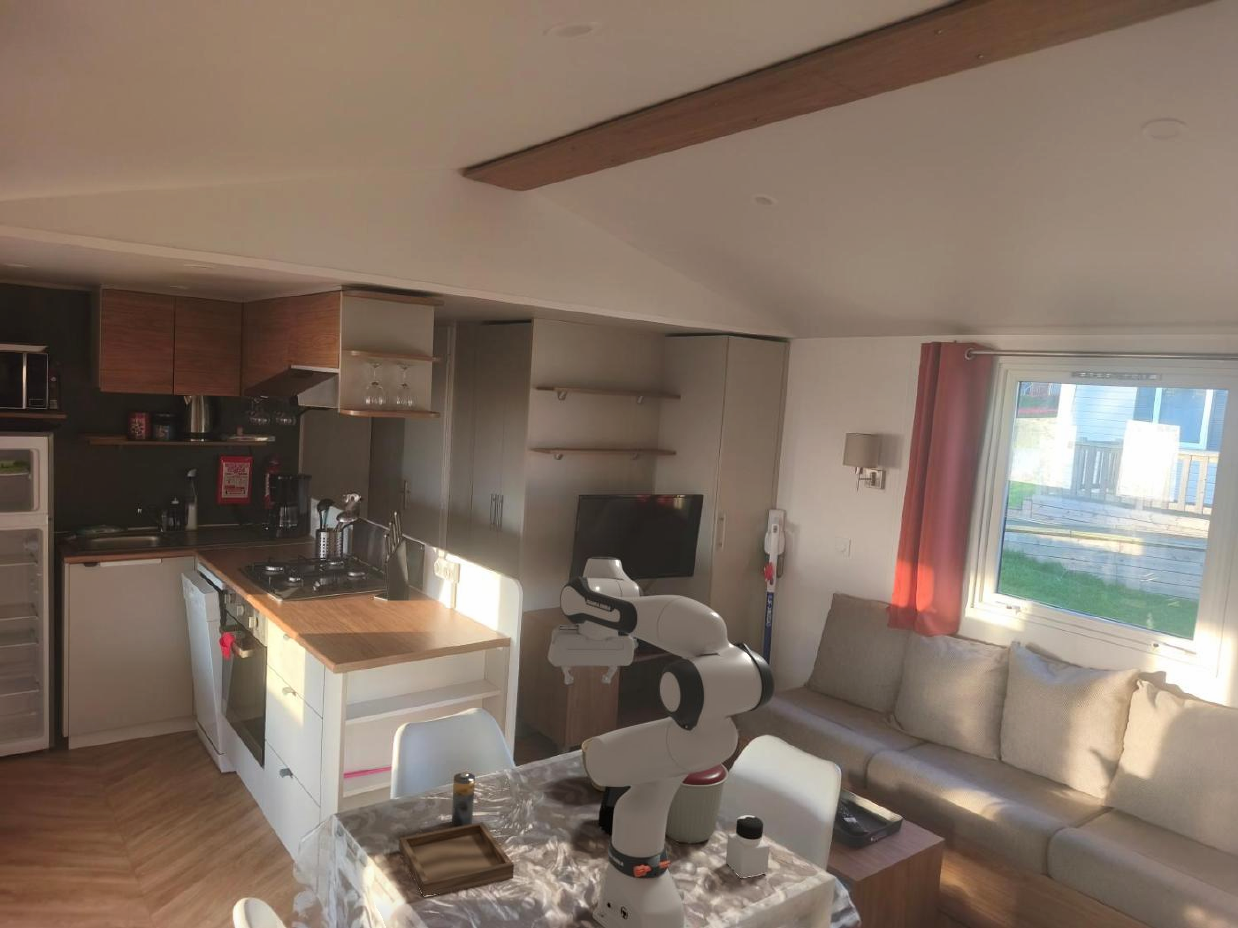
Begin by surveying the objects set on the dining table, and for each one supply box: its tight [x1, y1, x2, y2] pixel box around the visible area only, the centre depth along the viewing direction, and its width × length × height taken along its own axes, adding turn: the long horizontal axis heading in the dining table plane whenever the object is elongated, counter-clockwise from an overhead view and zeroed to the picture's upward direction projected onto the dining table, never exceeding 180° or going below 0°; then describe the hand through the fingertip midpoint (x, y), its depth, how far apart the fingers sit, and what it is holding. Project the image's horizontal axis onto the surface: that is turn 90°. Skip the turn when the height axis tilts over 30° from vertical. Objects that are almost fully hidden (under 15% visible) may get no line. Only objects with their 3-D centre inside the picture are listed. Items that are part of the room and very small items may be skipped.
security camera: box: [597, 785, 632, 836], centre depth 212 cm, size 7×18×10 cm, turn 174°
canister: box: [665, 763, 729, 844], centre depth 212 cm, size 18×18×21 cm
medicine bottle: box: [725, 814, 770, 878], centre depth 198 cm, size 7×7×12 cm
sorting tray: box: [398, 821, 515, 896], centre depth 192 cm, size 20×20×3 cm
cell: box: [450, 771, 476, 828], centre depth 209 cm, size 5×5×13 cm
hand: (587, 683), depth 198 cm, fingers open, 8 cm apart
